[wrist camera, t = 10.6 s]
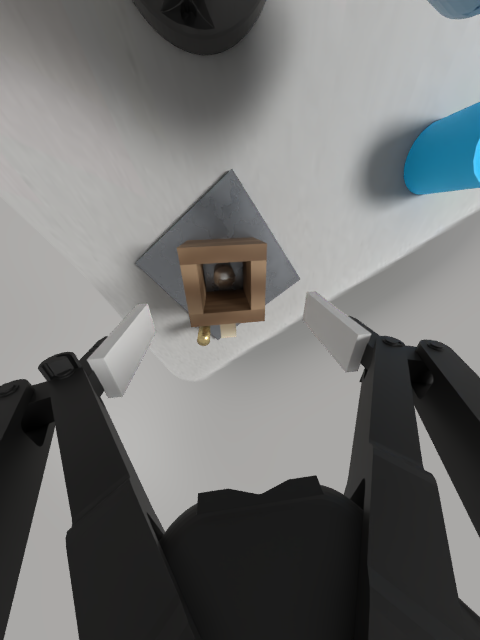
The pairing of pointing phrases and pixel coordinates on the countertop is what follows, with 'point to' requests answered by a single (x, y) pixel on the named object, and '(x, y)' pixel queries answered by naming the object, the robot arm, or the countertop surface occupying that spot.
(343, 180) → the countertop surface
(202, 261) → the wooden square tube
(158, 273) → the flange base
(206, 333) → the dowel pin
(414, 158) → the mug
